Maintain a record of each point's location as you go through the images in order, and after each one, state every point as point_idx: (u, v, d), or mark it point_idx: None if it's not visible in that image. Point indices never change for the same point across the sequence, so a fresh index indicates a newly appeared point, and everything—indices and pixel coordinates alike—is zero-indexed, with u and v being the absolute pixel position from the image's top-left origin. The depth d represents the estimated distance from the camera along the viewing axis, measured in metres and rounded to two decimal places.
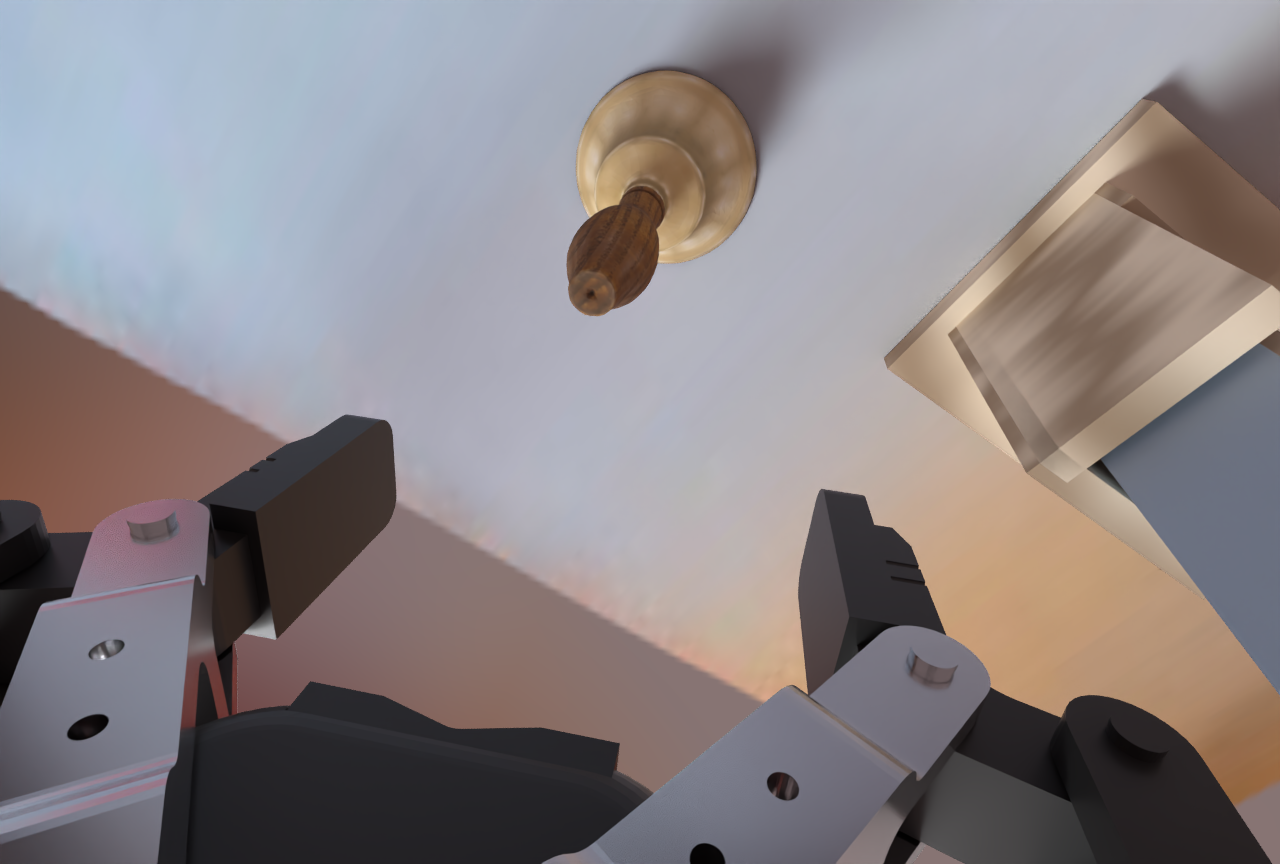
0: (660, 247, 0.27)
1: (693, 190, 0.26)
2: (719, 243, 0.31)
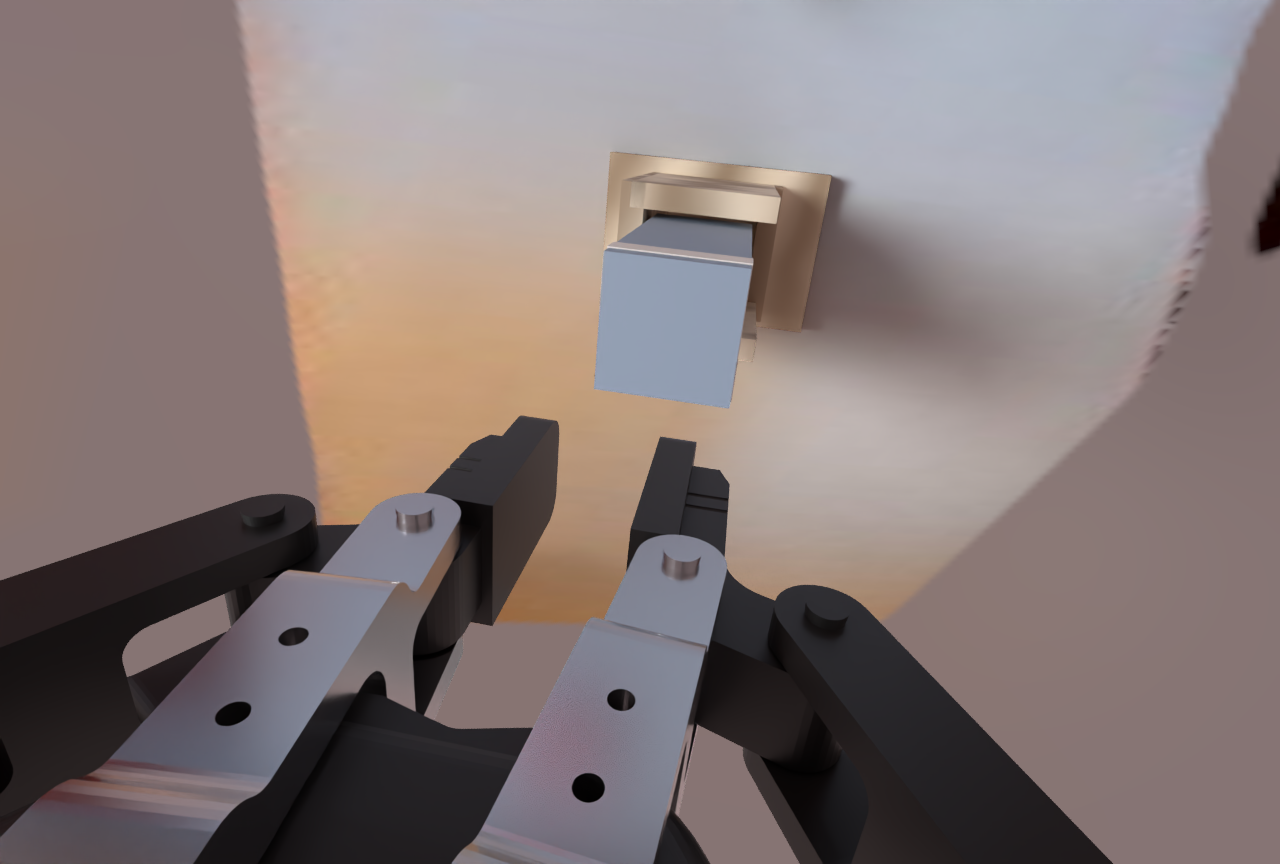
0: None
1: None
2: None
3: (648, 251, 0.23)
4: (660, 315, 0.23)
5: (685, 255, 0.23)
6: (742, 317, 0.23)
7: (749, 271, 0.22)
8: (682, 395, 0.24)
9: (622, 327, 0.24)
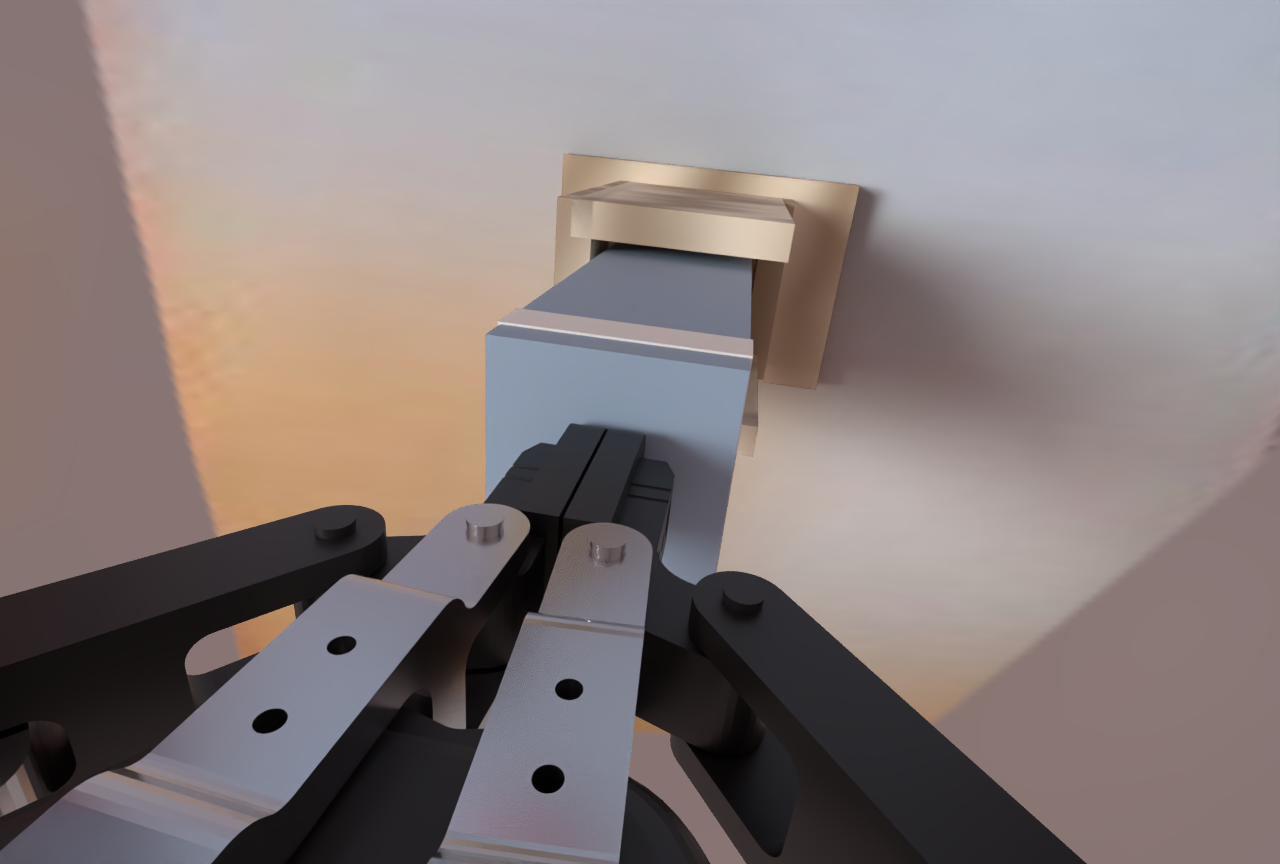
0: None
1: None
2: None
3: (569, 331, 0.13)
4: None
5: (633, 339, 0.13)
6: (733, 452, 0.13)
7: (746, 375, 0.12)
8: None
9: None
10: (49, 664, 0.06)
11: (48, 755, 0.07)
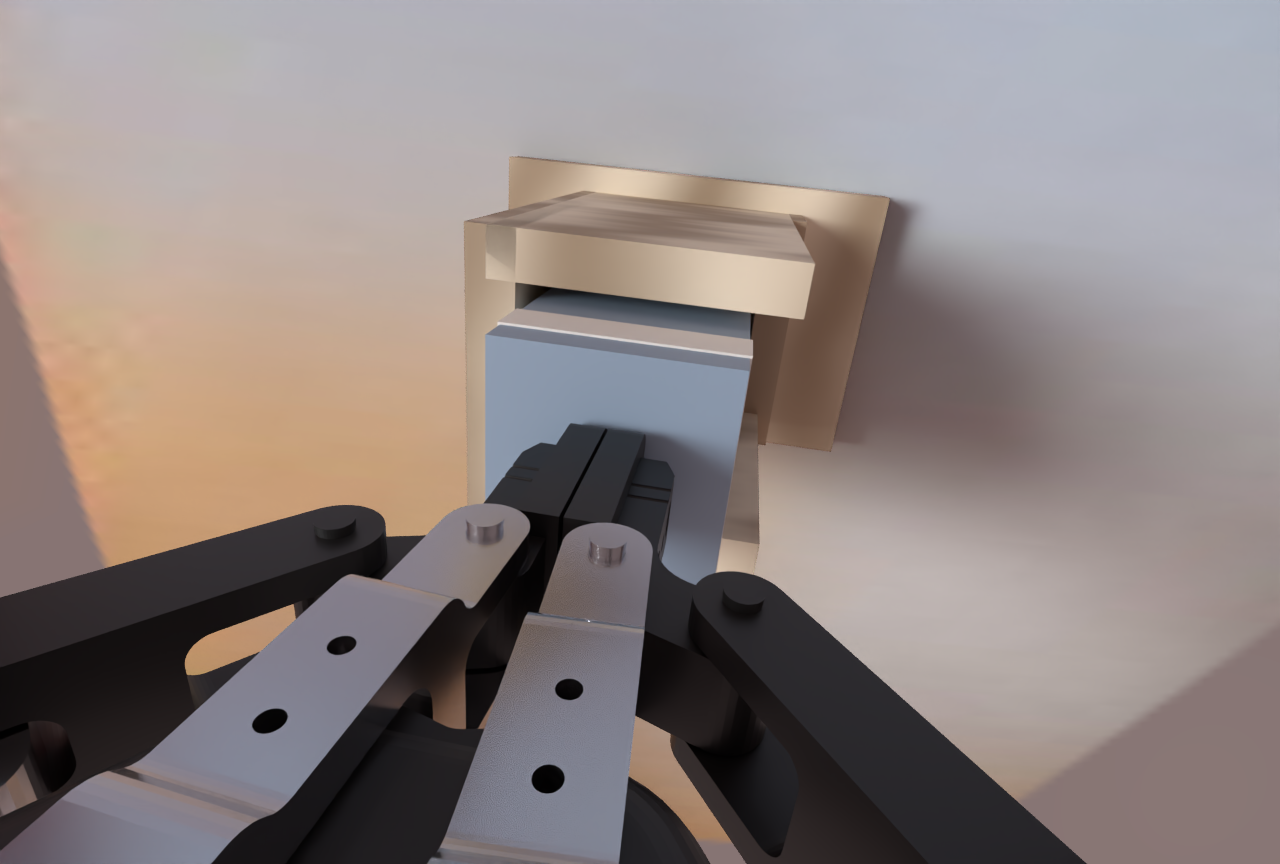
0: None
1: None
2: None
3: (568, 331, 0.13)
4: None
5: (633, 339, 0.13)
6: (733, 452, 0.13)
7: (745, 375, 0.12)
8: None
9: None
10: (49, 664, 0.06)
11: (48, 755, 0.07)
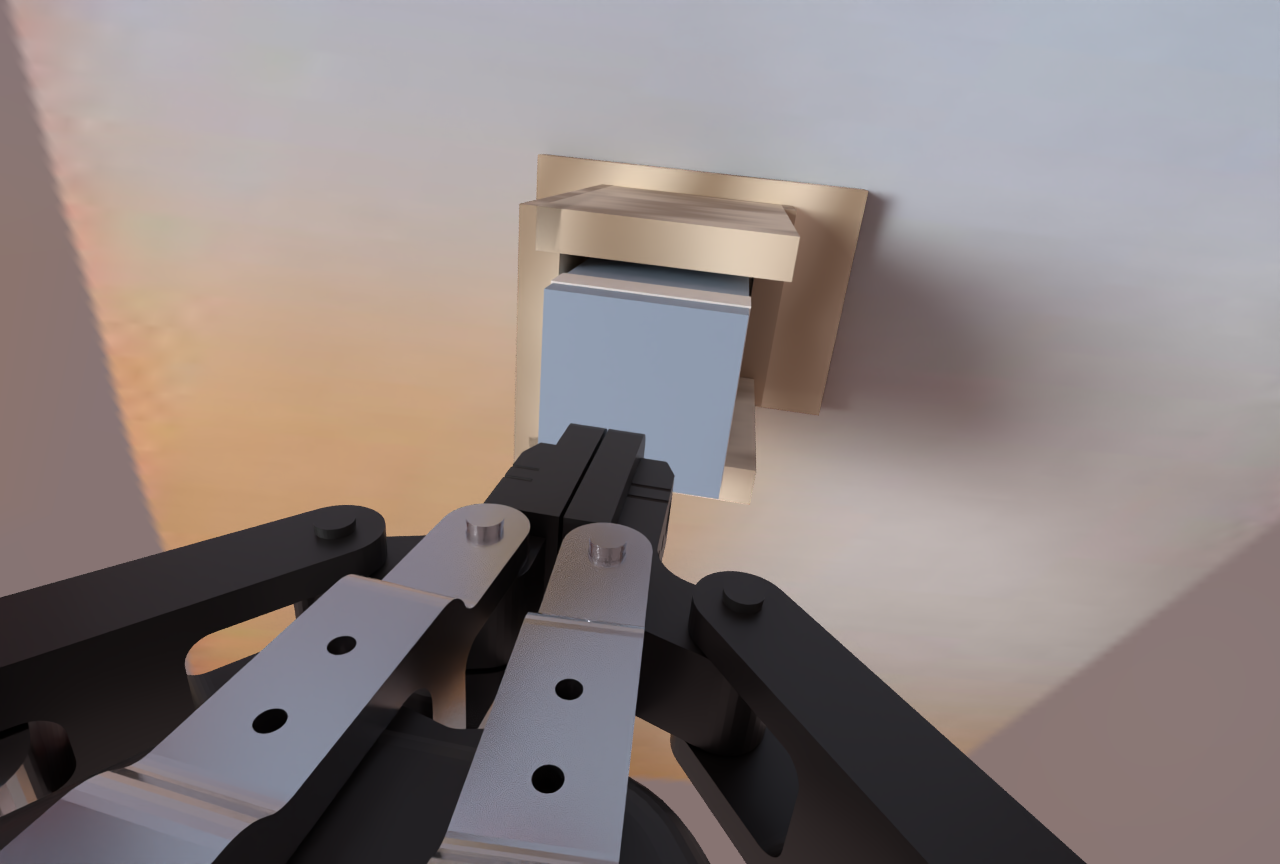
0: None
1: None
2: None
3: (607, 288, 0.17)
4: (623, 376, 0.17)
5: (657, 294, 0.17)
6: (736, 380, 0.16)
7: (745, 318, 0.16)
8: None
9: (572, 391, 0.17)
10: (49, 664, 0.06)
11: (48, 755, 0.07)
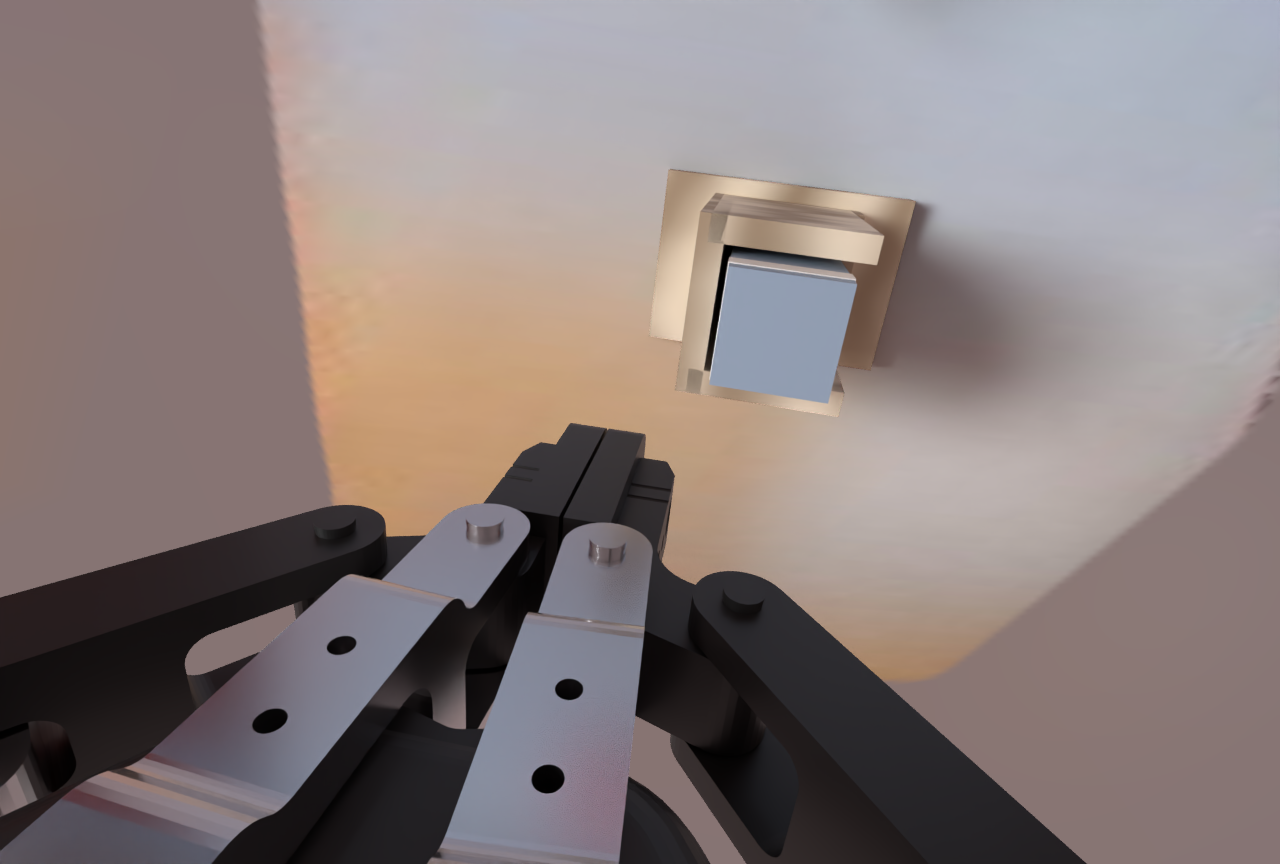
0: None
1: None
2: None
3: (764, 266, 0.27)
4: (773, 322, 0.27)
5: (796, 270, 0.27)
6: (846, 325, 0.26)
7: (855, 286, 0.26)
8: (787, 391, 0.28)
9: (739, 332, 0.27)
10: (49, 664, 0.06)
11: (48, 755, 0.07)
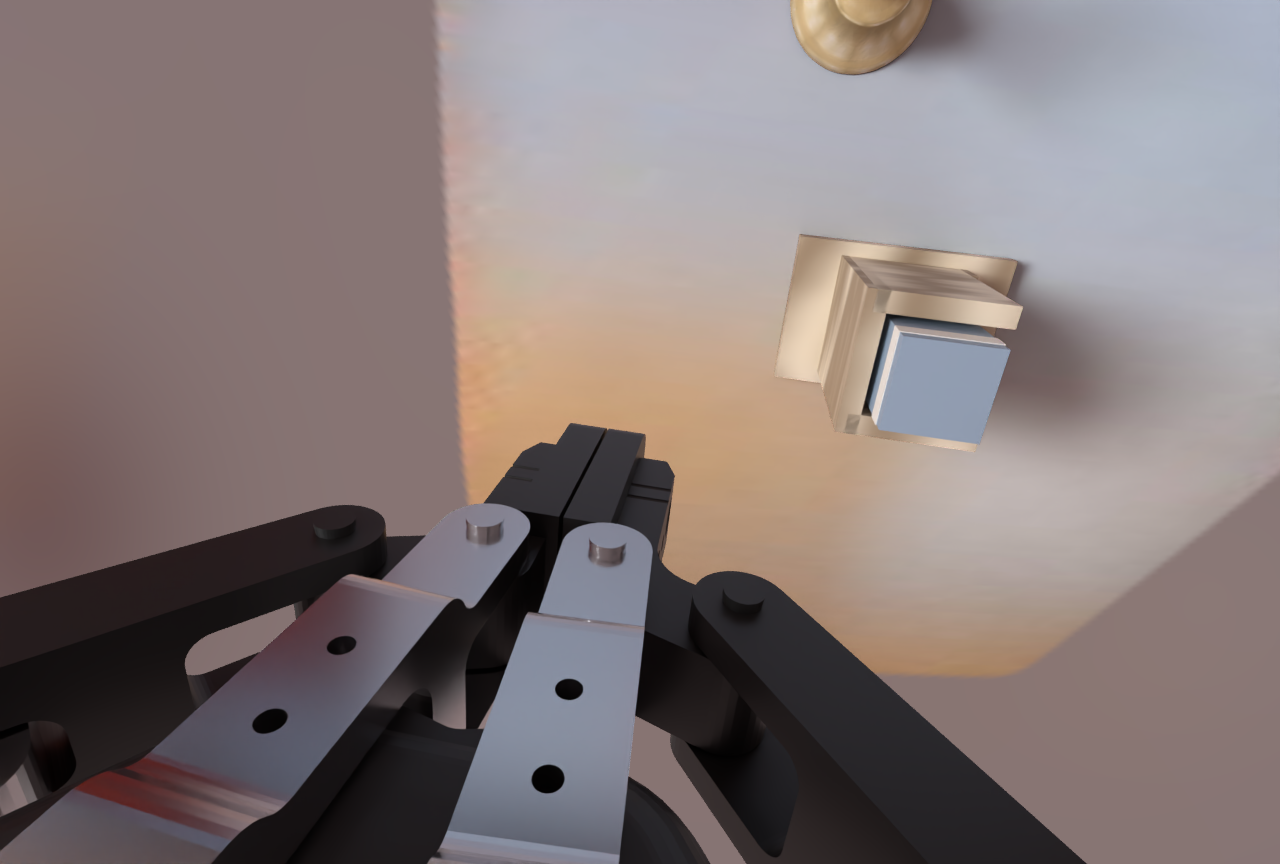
0: (845, 7, 0.36)
1: (895, 7, 0.36)
2: (830, 67, 0.41)
3: (929, 335, 0.33)
4: (938, 380, 0.33)
5: (956, 338, 0.33)
6: (999, 382, 0.33)
7: (1008, 351, 0.32)
8: (945, 435, 0.34)
9: (908, 387, 0.33)
10: (49, 664, 0.06)
11: (48, 755, 0.07)
